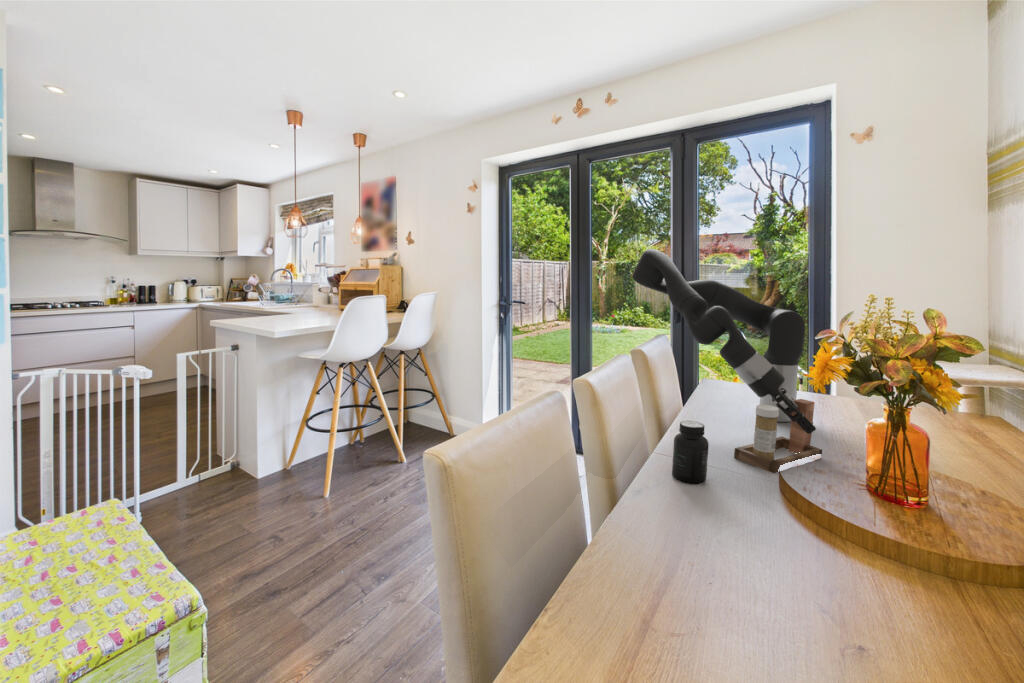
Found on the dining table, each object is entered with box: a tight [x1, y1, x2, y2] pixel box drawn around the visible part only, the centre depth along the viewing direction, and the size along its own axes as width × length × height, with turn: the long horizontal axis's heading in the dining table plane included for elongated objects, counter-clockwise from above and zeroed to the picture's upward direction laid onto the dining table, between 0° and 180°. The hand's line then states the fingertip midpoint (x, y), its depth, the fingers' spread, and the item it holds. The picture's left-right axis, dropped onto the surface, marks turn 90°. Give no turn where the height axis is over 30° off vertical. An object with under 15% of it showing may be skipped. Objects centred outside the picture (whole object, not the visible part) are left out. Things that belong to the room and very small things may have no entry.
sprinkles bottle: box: [752, 404, 779, 460], centre depth 103 cm, size 5×5×13 cm
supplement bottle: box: [671, 420, 710, 486], centre depth 95 cm, size 7×7×12 cm
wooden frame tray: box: [733, 398, 823, 474], centre depth 105 cm, size 19×10×13 cm, turn 117°
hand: (810, 428), depth 108 cm, fingers closed on wooden frame tray, 4 cm apart
